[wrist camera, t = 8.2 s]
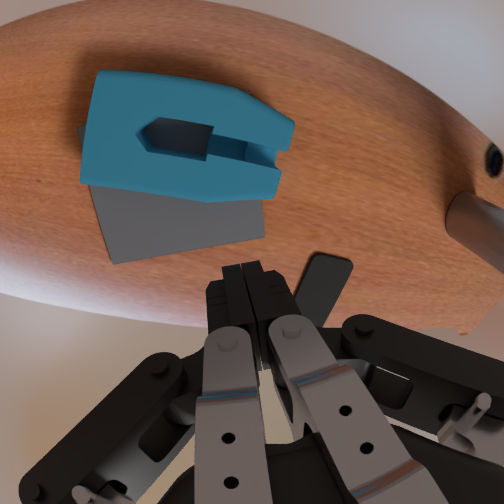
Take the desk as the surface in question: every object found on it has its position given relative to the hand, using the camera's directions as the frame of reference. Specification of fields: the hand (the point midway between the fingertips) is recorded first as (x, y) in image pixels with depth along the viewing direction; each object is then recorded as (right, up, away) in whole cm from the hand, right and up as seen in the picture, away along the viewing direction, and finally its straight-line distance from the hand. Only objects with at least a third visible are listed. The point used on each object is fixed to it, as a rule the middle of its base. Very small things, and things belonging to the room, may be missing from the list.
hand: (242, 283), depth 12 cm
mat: (-9, +10, +20) cm, 24 cm away
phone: (+10, -6, +32) cm, 34 cm away
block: (+3, +11, +18) cm, 22 cm away
